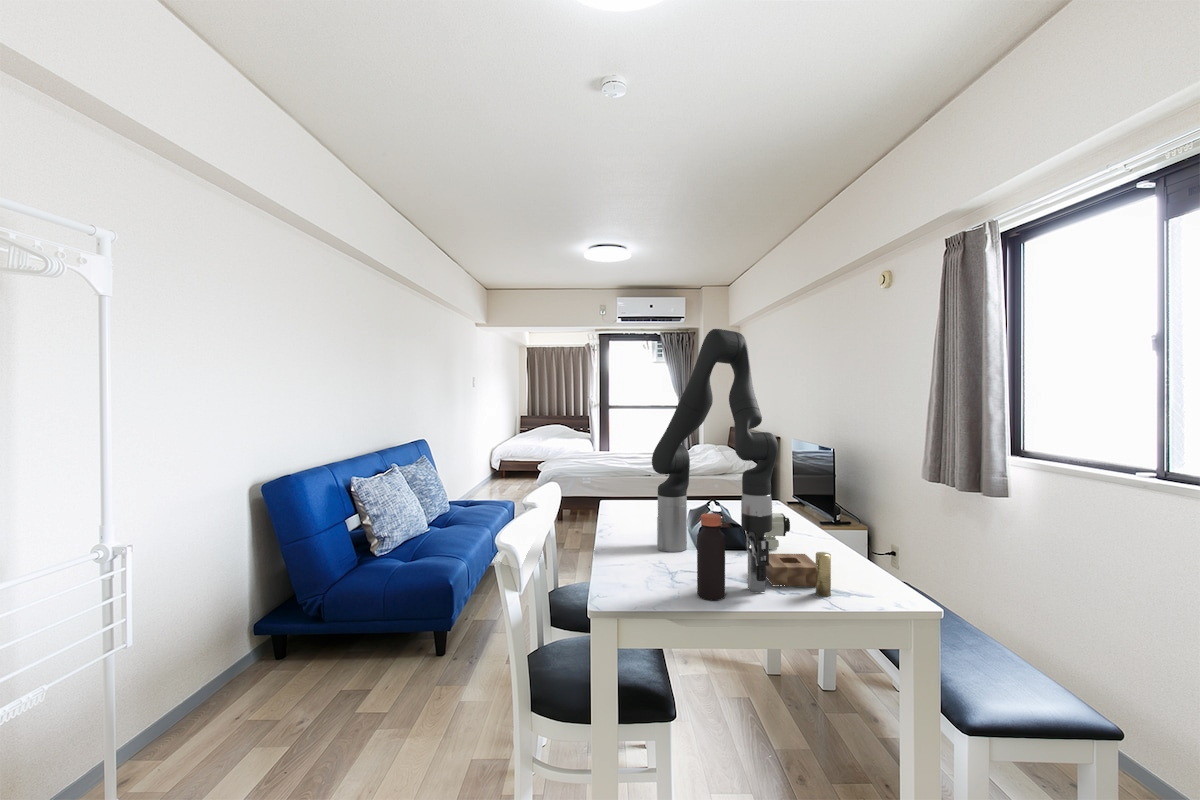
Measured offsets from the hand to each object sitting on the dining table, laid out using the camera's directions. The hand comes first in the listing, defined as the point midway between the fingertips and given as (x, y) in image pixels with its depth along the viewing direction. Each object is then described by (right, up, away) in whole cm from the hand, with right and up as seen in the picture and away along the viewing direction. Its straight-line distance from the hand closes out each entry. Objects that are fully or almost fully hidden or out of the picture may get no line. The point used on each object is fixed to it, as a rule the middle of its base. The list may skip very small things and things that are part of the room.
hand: (756, 575), depth 142 cm
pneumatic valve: (+14, -3, +37) cm, 39 cm away
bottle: (-12, -4, -3) cm, 13 cm away
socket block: (+11, -4, +9) cm, 15 cm away
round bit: (+16, -4, -3) cm, 16 cm away
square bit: (0, -4, 0) cm, 4 cm away
